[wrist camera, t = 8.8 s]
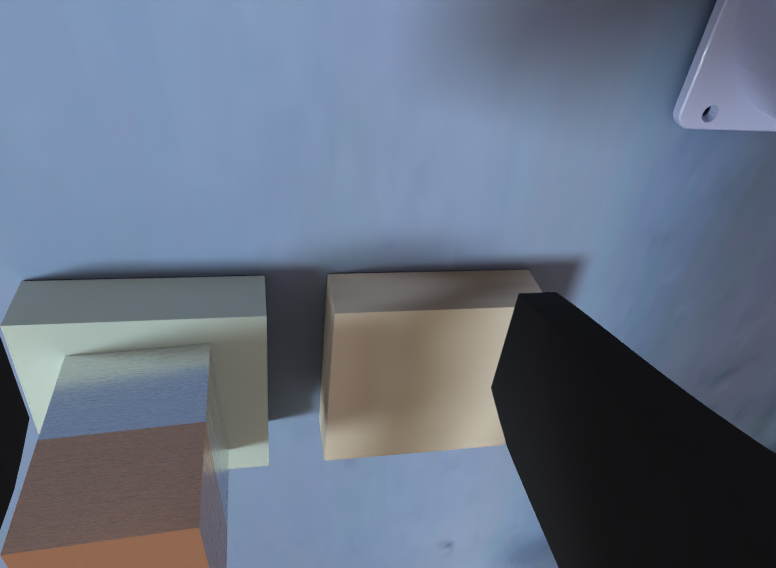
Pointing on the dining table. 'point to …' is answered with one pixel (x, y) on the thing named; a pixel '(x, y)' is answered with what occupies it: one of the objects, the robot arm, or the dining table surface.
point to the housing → (127, 466)
